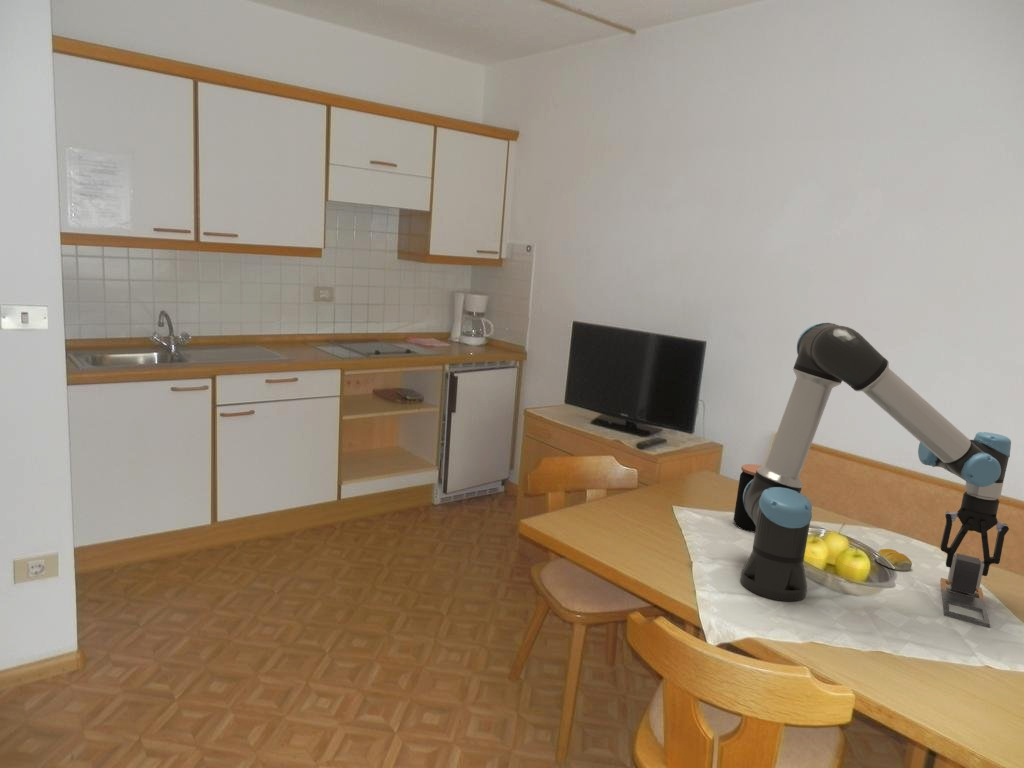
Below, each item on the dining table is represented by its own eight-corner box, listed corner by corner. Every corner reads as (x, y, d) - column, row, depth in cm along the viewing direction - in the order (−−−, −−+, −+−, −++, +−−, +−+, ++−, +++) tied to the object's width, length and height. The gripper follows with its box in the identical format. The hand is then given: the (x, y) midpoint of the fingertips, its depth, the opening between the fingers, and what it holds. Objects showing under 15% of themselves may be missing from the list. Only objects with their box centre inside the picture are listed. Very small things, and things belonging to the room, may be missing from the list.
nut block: (974, 595, 177) (980, 564, 175) (951, 589, 179) (957, 559, 178) (972, 588, 181) (979, 558, 180) (950, 582, 183) (956, 553, 182)
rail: (989, 627, 161) (990, 624, 161) (944, 615, 166) (944, 612, 166) (980, 590, 182) (981, 587, 182) (940, 580, 187) (940, 577, 186)
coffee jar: (763, 536, 208) (772, 476, 205) (727, 525, 214) (736, 468, 211) (774, 527, 216) (783, 470, 213) (740, 517, 222) (748, 462, 219)
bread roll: (891, 558, 200) (894, 544, 200) (916, 571, 192) (919, 557, 191) (866, 558, 198) (869, 544, 198) (890, 572, 190) (893, 558, 189)
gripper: (1024, 500, 175) (1004, 588, 179) (938, 483, 183) (922, 568, 187) (1028, 507, 168) (1008, 599, 172) (939, 490, 177) (922, 577, 181)
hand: (963, 582), depth 180 cm, fingers open, 5 cm apart
